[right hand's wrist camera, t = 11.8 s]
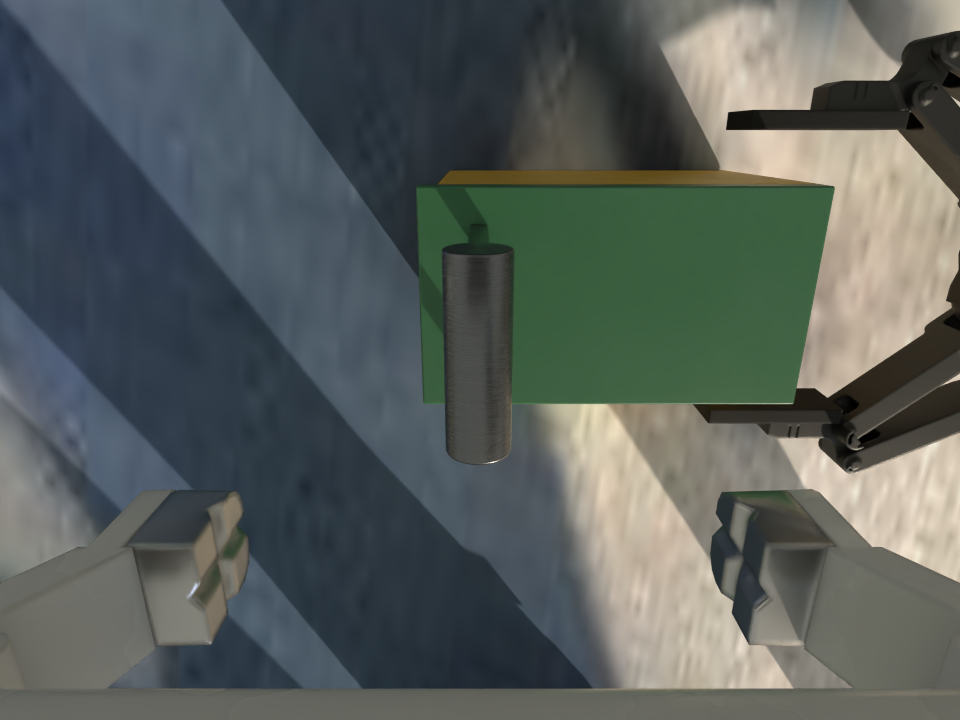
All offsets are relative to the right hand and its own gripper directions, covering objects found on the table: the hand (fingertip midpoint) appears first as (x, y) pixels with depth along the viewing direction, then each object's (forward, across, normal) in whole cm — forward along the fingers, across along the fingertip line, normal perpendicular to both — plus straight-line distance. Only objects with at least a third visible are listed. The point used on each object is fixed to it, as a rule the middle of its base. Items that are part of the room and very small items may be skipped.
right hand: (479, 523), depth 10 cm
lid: (+16, +6, 0) cm, 17 cm away
